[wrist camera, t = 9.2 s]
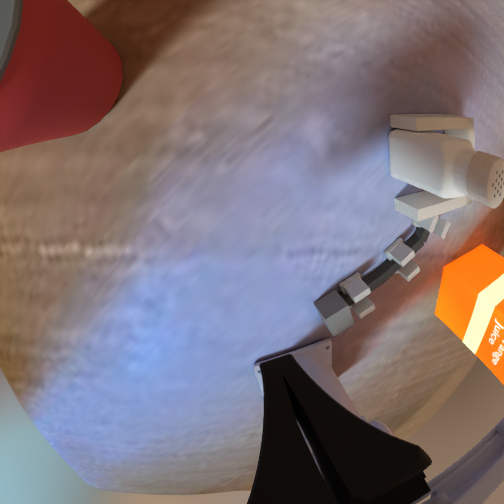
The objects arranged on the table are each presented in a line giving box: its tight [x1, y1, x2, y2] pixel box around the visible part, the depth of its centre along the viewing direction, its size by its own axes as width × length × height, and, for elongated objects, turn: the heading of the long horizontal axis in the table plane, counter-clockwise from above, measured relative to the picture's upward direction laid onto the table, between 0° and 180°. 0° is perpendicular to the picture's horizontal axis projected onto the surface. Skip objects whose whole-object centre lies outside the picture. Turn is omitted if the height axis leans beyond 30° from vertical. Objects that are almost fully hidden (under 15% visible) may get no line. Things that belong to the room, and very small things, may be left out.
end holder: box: [390, 114, 474, 222], centre depth 19 cm, size 8×8×3 cm
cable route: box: [314, 227, 430, 337], centre depth 23 cm, size 3×16×2 cm, turn 129°
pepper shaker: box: [389, 129, 504, 209], centre depth 15 cm, size 4×4×10 cm
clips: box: [339, 215, 451, 318], centre depth 23 cm, size 4×13×2 cm, turn 132°
